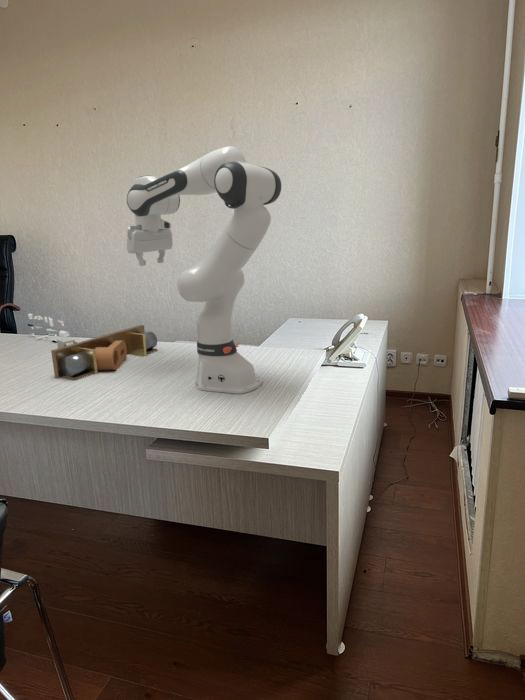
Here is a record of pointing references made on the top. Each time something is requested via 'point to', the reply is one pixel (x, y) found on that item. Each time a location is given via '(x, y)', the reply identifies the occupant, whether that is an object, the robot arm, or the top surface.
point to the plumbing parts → (61, 333)
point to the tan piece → (111, 356)
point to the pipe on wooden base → (82, 355)
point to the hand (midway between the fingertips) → (151, 264)
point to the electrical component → (65, 342)
